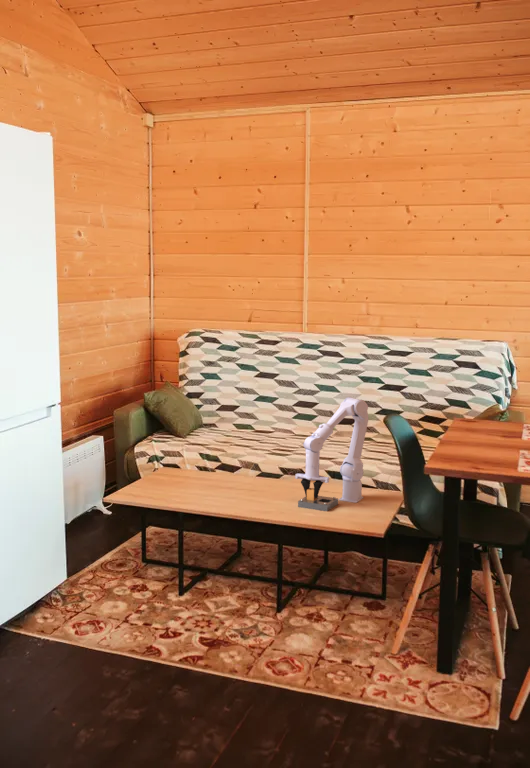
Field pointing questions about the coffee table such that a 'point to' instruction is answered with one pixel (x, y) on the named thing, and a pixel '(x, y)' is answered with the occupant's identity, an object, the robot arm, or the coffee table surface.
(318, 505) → the grey mounting plate
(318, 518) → the coffee table surface
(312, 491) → the orange rectangular block
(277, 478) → the coffee table surface
